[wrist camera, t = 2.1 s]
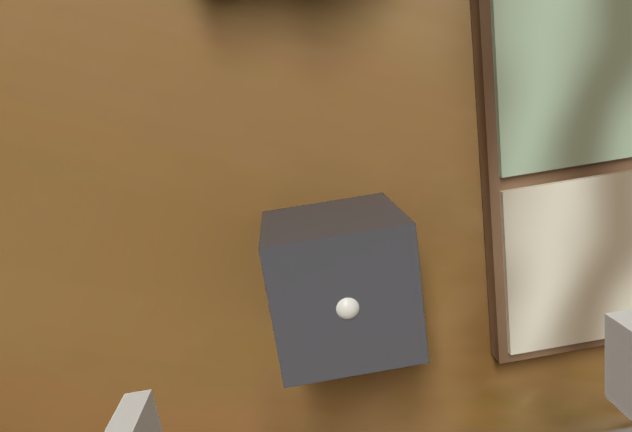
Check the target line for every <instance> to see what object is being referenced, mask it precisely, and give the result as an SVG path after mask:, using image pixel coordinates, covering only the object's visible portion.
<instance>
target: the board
mask: <svg viewBox="0 0 632 432" xmlns="http://www.w3.org/2000/svg"><path fill="white" fill-rule="evenodd" d="M470 10H471V26H472V43H473V59H474V76H475V92H476V108H477V125H478V141H479V158H480V174H481V191H482V207H483V224H484V240H485V257H486V273H487V290H488V306H489V323H490V339H491V354H492V356H493V357H494V358H495V359H496V360H497V362H498V363H499V364H502V363H508V362H513V361H519V360H525V359H530V358H536V357H542V356H547V355H553V354H558V353H564V352H570V351H575V350H581V349H587V348H592V347H598V346H603V345H605V313H610V312H616V311H622V310H628V309H631V310H632V0H470Z"/></svg>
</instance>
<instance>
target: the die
mask: <svg viewBox="0 0 632 432" xmlns="http://www.w3.org/2000/svg"><path fill="white" fill-rule="evenodd" d="M259 254H260V259H261V265H262V270H263V275H264V281H265V286H266V292H267V297H268V303H269V308H270V314H271V319H272V325H273V330H274V335H275V341H276V346H277V352H278V357H279V363H280V368H281V374H282V379H283V385H284V388H288V387H294V386H299V385H305V384H311V383H317V382H322V381H328V380H334V379H340V378H345V377H351V376H357V375H363V374H368V373H374V372H380V371H385V370H391V369H397V368H403V367H408V366H414V365H420V364H426V363H429V358H428V348H427V337H426V327H425V316H424V306H423V295H422V285H421V274H420V264H419V254H418V243H417V233H416V223H415V222H414V221H413V220H411V219H410V218H409V217H408V216H407V215H406V214H405V213H404V212H403V211H402V210H401V209H400V208H398V207H397V206H396V205H395V204H394V203H393V202H392V201H391V200H390V199H389V198H388V197H387V196H386V195H384V194H383V193H378V194H371V195H365V196H359V197H352V198H346V199H340V200H334V201H327V202H321V203H315V204H309V205H302V206H296V207H290V208H283V209H277V210H271V211H265V212H263V214H262V223H261V232H260V241H259Z"/></svg>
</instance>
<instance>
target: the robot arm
mask: <svg viewBox="0 0 632 432" xmlns="http://www.w3.org/2000/svg"><path fill="white" fill-rule="evenodd" d="M605 397H606V398H607V399H608V400H609V401H610V402H611V403H612V404H613V405H615V406H616V407H617V408H618V409H619V410H620V411H621V412H622V413H623V414H624V415H625V416H626V417H627V418H629V419H630V420H631V421H632V310H631V309H628V310H622V311H616V312H610V313H605ZM104 432H163V431H162V427H161V423H160V419H159V415H158V411H157V408H156V404H155V400H154V396H153V392H152V389H150V390H144V391H138V392H132V393H126V394H124V396H123V398H122V399H121V401H120V403H119V405H118V407H117V409H116V411H115V412H114V414H113V416H112V418H111V420H110V422H109V424H108V426H107V427H106V429H105V431H104Z"/></svg>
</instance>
